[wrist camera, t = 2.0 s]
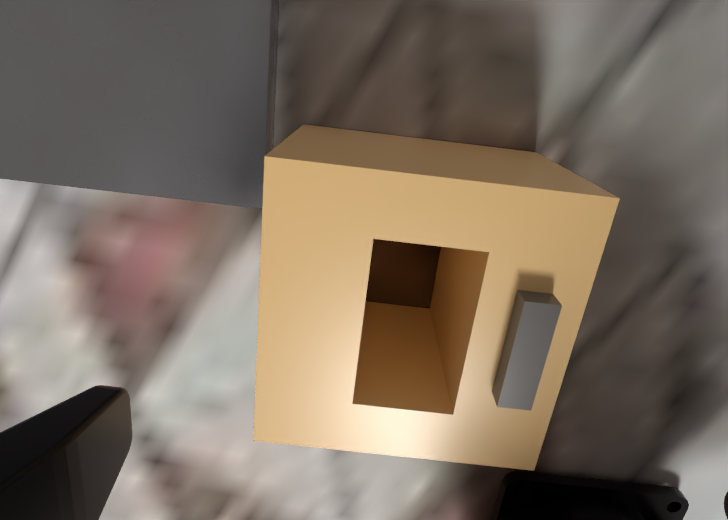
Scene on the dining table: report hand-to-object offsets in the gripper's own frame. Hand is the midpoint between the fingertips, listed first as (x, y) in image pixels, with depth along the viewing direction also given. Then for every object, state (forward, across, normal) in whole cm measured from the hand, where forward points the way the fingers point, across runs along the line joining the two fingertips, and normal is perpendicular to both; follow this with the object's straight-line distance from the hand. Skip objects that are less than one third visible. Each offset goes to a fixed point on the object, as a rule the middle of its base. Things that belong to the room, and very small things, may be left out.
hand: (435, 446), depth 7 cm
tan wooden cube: (+8, 0, 0) cm, 8 cm away
